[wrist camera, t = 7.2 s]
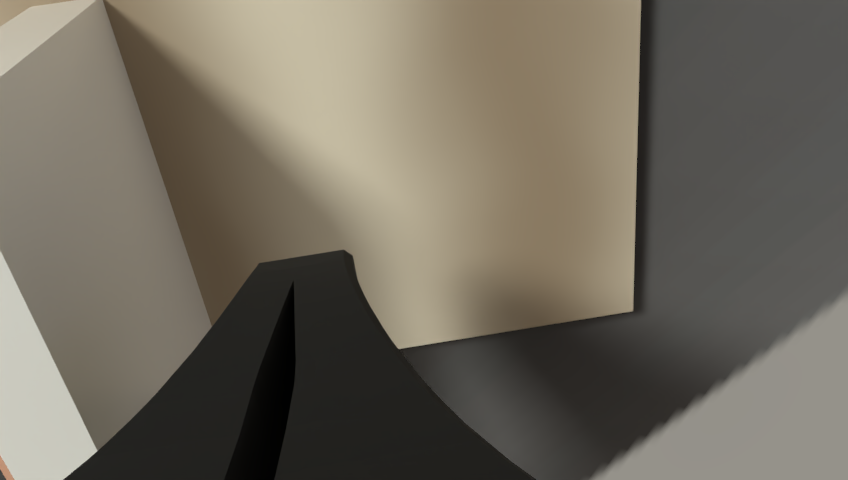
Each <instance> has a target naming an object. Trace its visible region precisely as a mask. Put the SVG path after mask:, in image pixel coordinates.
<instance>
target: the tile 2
mask: <svg viewBox="0 0 848 480" xmlns="http://www.w3.org/2000/svg"><path fill="white" fill-rule="evenodd" d="M211 327H212V325H211V322H210V319H209V316H208V313H207V310H206V308H205V305H204V302H203V299H202V296H201V293H200V290H199V287H198V284H197V281H196V278H195V275H194V272H193V269H192V266H191V263H190V260H189V257H188V254H187V251H186V248H185V245H184V242H183V239H182V236H181V233H180V230H179V227H178V224H177V221H176V218H175V215H174V212H173V209H172V206H171V203H170V200H169V197H168V194H167V191H166V188H165V185H164V182H163V179H162V176H161V173H160V170H159V167H158V164H157V161H156V158H155V155H154V152H153V149H152V146H151V143H150V140H149V137H148V134H147V131H146V128H145V125H144V122H143V119H142V116H141V113H140V110H139V107H138V104H137V101H136V98H135V95H134V92H133V89H132V86H131V83H130V80H129V77H128V74H127V71H126V68H125V65H124V62H123V59H122V57H121V54H120V51H119V48H118V45H117V42H116V39H115V36H114V33H113V30H112V27H111V24H110V21H109V18H108V15H107V12H106V9H105V6H104V3H103V0H74V1H67V2H60V3H53V4H46V5H40V6H33V7H30V8H28V9H27V10H25V11H24V12H22V13H20V14H19V15H17V16H16V17H14V18H13V19H11V20H10V21H8V22H7V23H5V24H3V25H2V26H0V469H1V471H2V473H3V474H4V476H5V478H6V480H63V479H65V478H66V477H67V476H68V475H70V474H71V473H72V472H73V471H74V470H76V469H77V468H78V467H79V466H81V465H82V464H83V463H84V462H85V461H87V460H88V459H89V458H90V457H91V456H92V455H94V454H95V453H96V452H97V451H98V450H99V449H100V448H101V447H102V446H104V445H105V444H106V443H107V442H108V441H109V440H110V439H111V438H112V437H113V436H114V435H115V434H116V433H117V432H118V431H119V430H120V429H121V428H123V427H124V426H125V425H126V424H127V423H128V422H129V421H130V420H131V419H132V418H133V417H134V416H135V415H136V414H137V413H138V412H139V411H140V410H141V409H142V408H143V407H144V406H145V405H146V404H147V403H148V402H149V401H150V400H151V398H152V397H153V396H154V395H155V394H156V393H157V392H158V391H159V390H160V389H161V387H162V386H163V385H164V384H165V383H166V382H167V381H168V379H169V378H170V377H171V376H172V375H173V374H174V372H175V371H176V370H177V369H178V368H179V367H180V365H181V364H182V363H183V362H184V361H185V360H186V359H187V357H188V356H189V355H190V354H191V353H192V352H193V350H194V349H195V348H196V347H197V345H198V344H199V343H200V341H201V340H202V339H203V338H204V336H205V335H206V334H207V332H208V331H209V330H210V328H211Z"/></svg>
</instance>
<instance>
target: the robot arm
mask: <svg viewBox="0 0 848 480" xmlns="http://www.w3.org/2000/svg"><path fill="white" fill-rule="evenodd" d="M63 480H536V479H535V478H533V477H532V476H530V475H529V474H528V473H526V472H525V471H523V470H522V469H521V468H519V467H518V466H517V465H515V464H514V463H512V462H511V461H510V460H509V459H507V458H506V457H505V456H504V455H503V454H501V453H500V452H499V451H498V450H497V449H495V448H494V447H493V446H492V445H491V444H489V443H488V442H487V441H486V440H485V439H483V438H482V437H481V436H480V435H479V434H477V433H476V432H475V431H474V430H473V429H471V428H470V427H469V426H468V425H467V424H465V423H464V422H463V421H462V420H461V419H460V418H459V417H458V416H457V415H456V414H455V413H454V412H453V411H452V410H451V409H450V408H449V407H448V406H447V405H446V404H445V403H444V402H443V401H442V400H441V399H440V398H439V397H438V396H437V395H436V394H435V393H434V392H433V391H432V389H431V388H430V387H429V386H428V385H427V384H426V383H425V382H424V381H423V380H422V378H421V377H420V376H419V375H418V374H417V373H416V371H415V370H414V369H413V368H412V366H411V365H410V364H409V363H408V361H407V360H406V359H405V358H404V356H403V355H402V353H401V352H400V351H399V349H398V348H397V347H396V345H395V344H394V343H393V341H392V340H391V338H390V337H389V336H388V334H387V333H386V331H385V330H384V328H383V326H382V325H381V323H380V321H379V320H378V318H377V317H376V315H375V313H374V312H373V310H372V308H371V307H370V305H369V303H368V301H367V299H366V297H365V295H364V293H363V291H362V289H361V287H360V284H359V282H358V279H357V274H356V269H355V264H354V259H353V255H351V254H350V253H348V252H347V251H345V250H338V251H331V252H325V253H319V254H313V255H306V256H300V257H294V258H288V259H281V260H275V261H269V262H263V263H259V264H258V265H257V267H256V268H255V269H254V271H253V272H252V273H251V274H250V276H249V277H248V278H247V280H246V281H245V282H244V284H243V285H242V287H241V288H240V289H239V291H238V292H237V293H236V295H235V296H234V298H233V299H232V300H231V302H230V303H229V304H228V306H227V307H226V309H225V310H224V311H223V313H222V314H221V315H220V317H219V318H218V319H217V321H216V322H215V323H214V325H213V326H212V327H211V328H210V330H209V331H208V332H207V334H206V335H205V336H204V338H203V339H202V340H201V341H200V343H199V344H198V345H197V347H196V348H195V349H194V350H193V352H192V353H191V354H190V355H189V356H188V357H187V359H186V360H185V361H184V362H183V363H182V364H181V365H180V367H179V368H178V369H177V370H176V371H175V372H174V374H173V375H172V376H171V377H170V378H169V379H168V381H167V382H166V383H165V384H164V385H163V386H162V387H161V389H160V390H159V391H158V392H157V393H156V394H155V395H154V396H153V397H152V398H151V400H150V401H149V402H148V403H147V404H146V405H145V406H144V407H143V408H142V409H141V410H140V411H139V412H138V413H137V414H136V415H135V416H134V417H133V418H132V419H131V420H130V421H129V422H128V423H127V424H126V425H125V426H124V427H123V428H121V429H120V430H119V431H118V432H117V433H116V434H115V435H114V436H113V437H112V438H111V439H110V440H109V441H108V442H107V443H106V444H105V445H104V446H102V447H101V448H100V449H99V450H98V451H97V452H96V453H95V454H94V455H92V456H91V457H90V458H89V459H88V460H87V461H85V462H84V463H83V464H82V465H81V466H79V467H78V468H77V469H76V470H74V471H73V472H72V473H71V474H70V475H68V476H67V477H66V478H65V479H63Z"/></svg>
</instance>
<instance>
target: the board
mask: <svg viewBox="0 0 848 480" xmlns="http://www.w3.org/2000/svg"><path fill="white" fill-rule="evenodd" d="M67 1H74V0H0V26H2V25H3V24H5V23H7V22H8V21H10V20H11V19H13V18H14V17H16V16H17V15H19V14H20V13H22V12H24V11H25V10H27V9H28V8H30V7H33V6H40V5H46V4H53V3H60V2H67ZM103 3H104V6H105V9H106V12H107V15H108V18H109V21H110V24H111V27H112V30H113V33H114V36H115V39H116V42H117V45H118V48H119V51H120V54H121V57H122V59H123V62H124V65H125V68H126V71H127V74H128V77H129V80H130V83H131V86H132V89H133V92H134V95H135V98H136V101H137V104H138V107H139V110H140V113H141V116H142V119H143V122H144V125H145V128H146V131H147V134H148V137H149V140H150V143H151V146H152V149H153V152H154V155H155V158H156V161H157V164H158V167H159V170H160V173H161V176H162V179H163V182H164V185H165V188H166V191H167V194H168V197H169V200H170V203H171V206H172V209H173V212H174V215H175V218H176V221H177V224H178V227H179V230H180V233H181V236H182V239H183V242H184V245H185V248H186V251H187V254H188V257H189V260H190V263H191V266H192V269H193V272H194V275H195V278H196V281H197V284H198V287H199V290H200V293H201V296H202V299H203V302H204V305H205V308H206V310H207V313H208V316H209V319H210V322H211V325H212V326H213V325H214V323H215V322H216V321H217V319H218V318H219V317H220V315H221V314H222V313H223V311H224V310H225V309H226V307H227V306H228V304H229V303H230V302H231V300H232V299H233V298H234V296H235V295H236V293H237V292H238V291H239V289H240V288H241V287H242V285H243V284H244V282H245V281H246V280H247V278H248V277H249V276H250V274H251V273H252V272H253V271H254V269H255V268H256V267H257V265H258V264H259V263H263V262H269V261H275V260H281V259H288V258H294V257H300V256H306V255H313V254H319V253H325V252H331V251H338V250H345V251H347V252H348V253H350V254H351V255H353V259H354V264H355V269H356V274H357V279H358V282H359V284H360V287H361V289H362V291H363V293H364V295H365V297H366V299H367V301H368V303H369V305H370V307H371V308H372V310H373V312H374V313H375V315H376V317H377V318H378V320H379V321H380V323H381V325H382V326H383V328H384V330H385V331H386V333H387V334H388V336H389V337H390V338H391V340H392V341H393V343H394V344H395V345H396V347H397V348H398V349H402V348H408V347H415V346H421V345H427V344H433V343H439V342H445V341H452V340H458V339H464V338H470V337H476V336H483V335H489V334H495V333H501V332H507V331H513V330H520V329H526V328H532V327H538V326H544V325H551V324H557V323H563V322H569V321H575V320H581V319H588V318H594V317H600V316H606V315H612V314H619V313H625V312H631V311H633V297H634V257H635V218H636V179H637V140H638V101H639V62H640V22H641V0H103Z"/></svg>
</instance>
